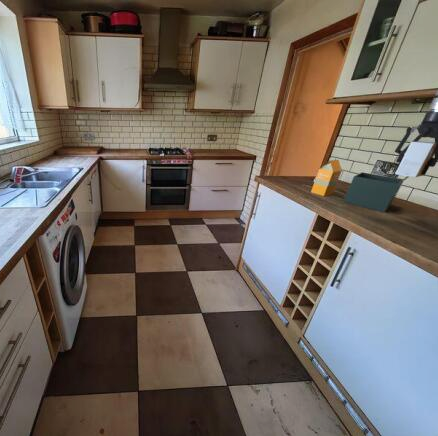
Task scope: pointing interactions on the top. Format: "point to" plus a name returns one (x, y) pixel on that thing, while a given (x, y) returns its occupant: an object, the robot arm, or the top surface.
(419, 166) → the small box
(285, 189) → the top surface
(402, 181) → the flap
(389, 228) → the top surface
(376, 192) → the dark green open bin
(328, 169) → the orange juice
